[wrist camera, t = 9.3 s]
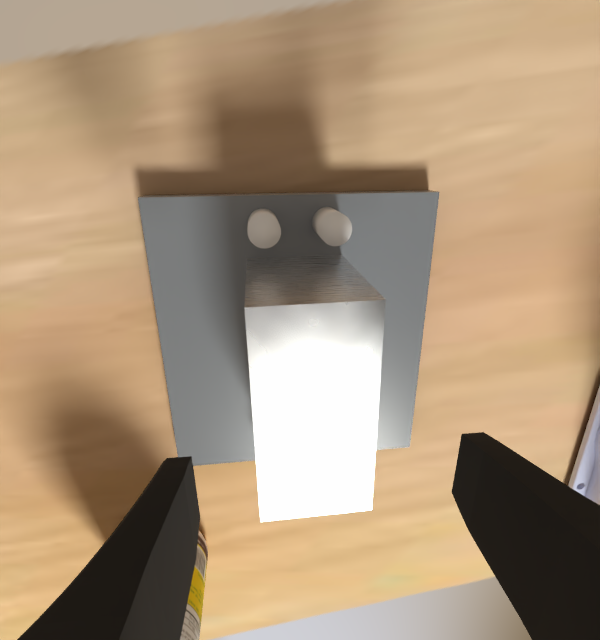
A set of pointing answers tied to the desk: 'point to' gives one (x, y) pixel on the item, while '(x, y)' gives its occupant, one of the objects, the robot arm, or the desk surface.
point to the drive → (313, 383)
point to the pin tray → (229, 297)
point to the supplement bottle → (196, 594)
